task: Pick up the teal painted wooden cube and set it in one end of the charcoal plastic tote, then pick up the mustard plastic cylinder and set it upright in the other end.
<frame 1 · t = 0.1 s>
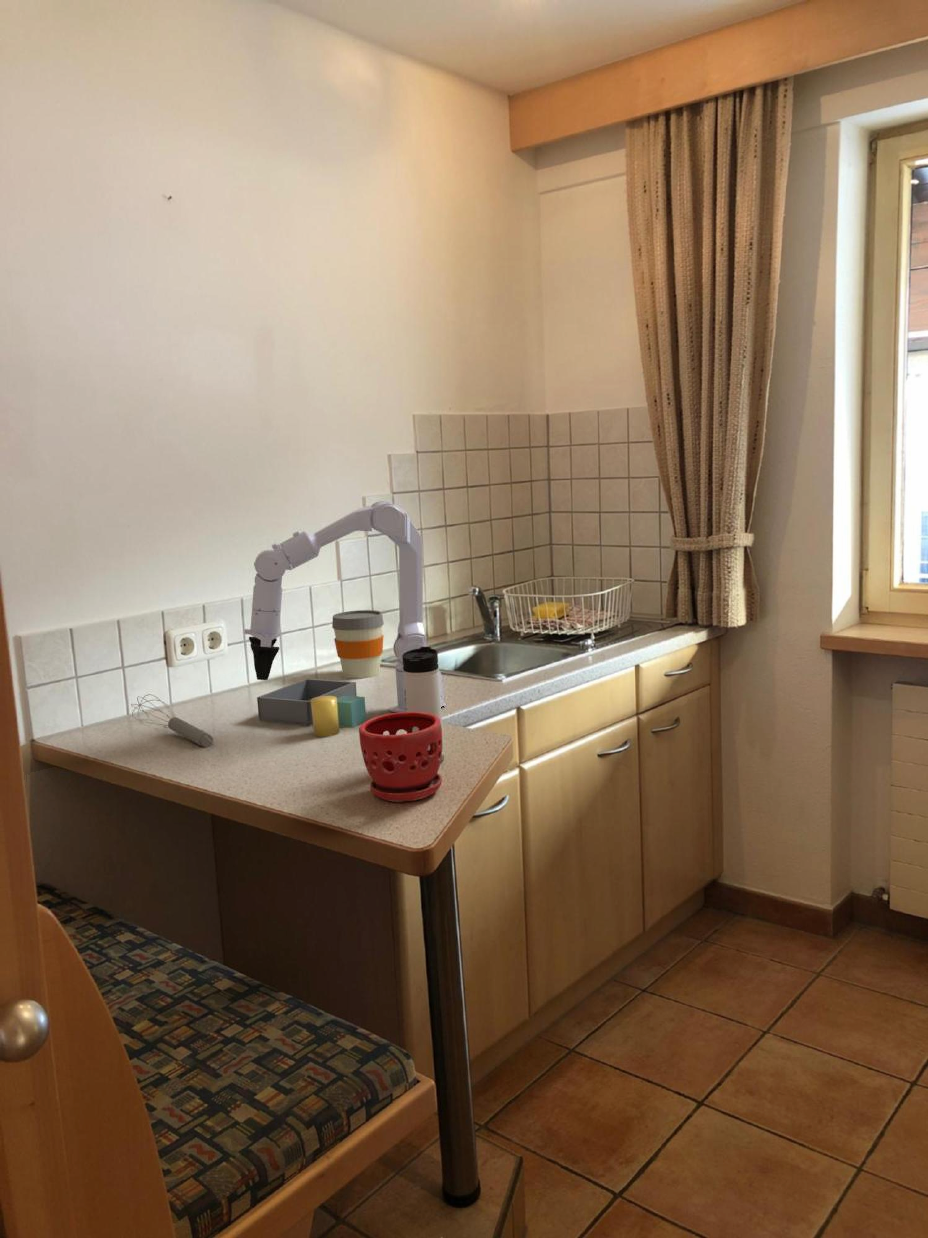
hand: (261, 675, 207), 11 cm above the worktop, tool pointing down, fingers open, 7 cm apart
travel mug: (427, 761, 181), on the worktop
tote: (309, 712, 218), on the worktop
cylinder: (326, 733, 201), on the worktop
kitchen whisk: (176, 734, 208), on the worktop
cube: (349, 722, 208), on the worktop
reusable coffee cup: (361, 675, 252), on the worktop
plant pot: (404, 794, 164), on the worktop
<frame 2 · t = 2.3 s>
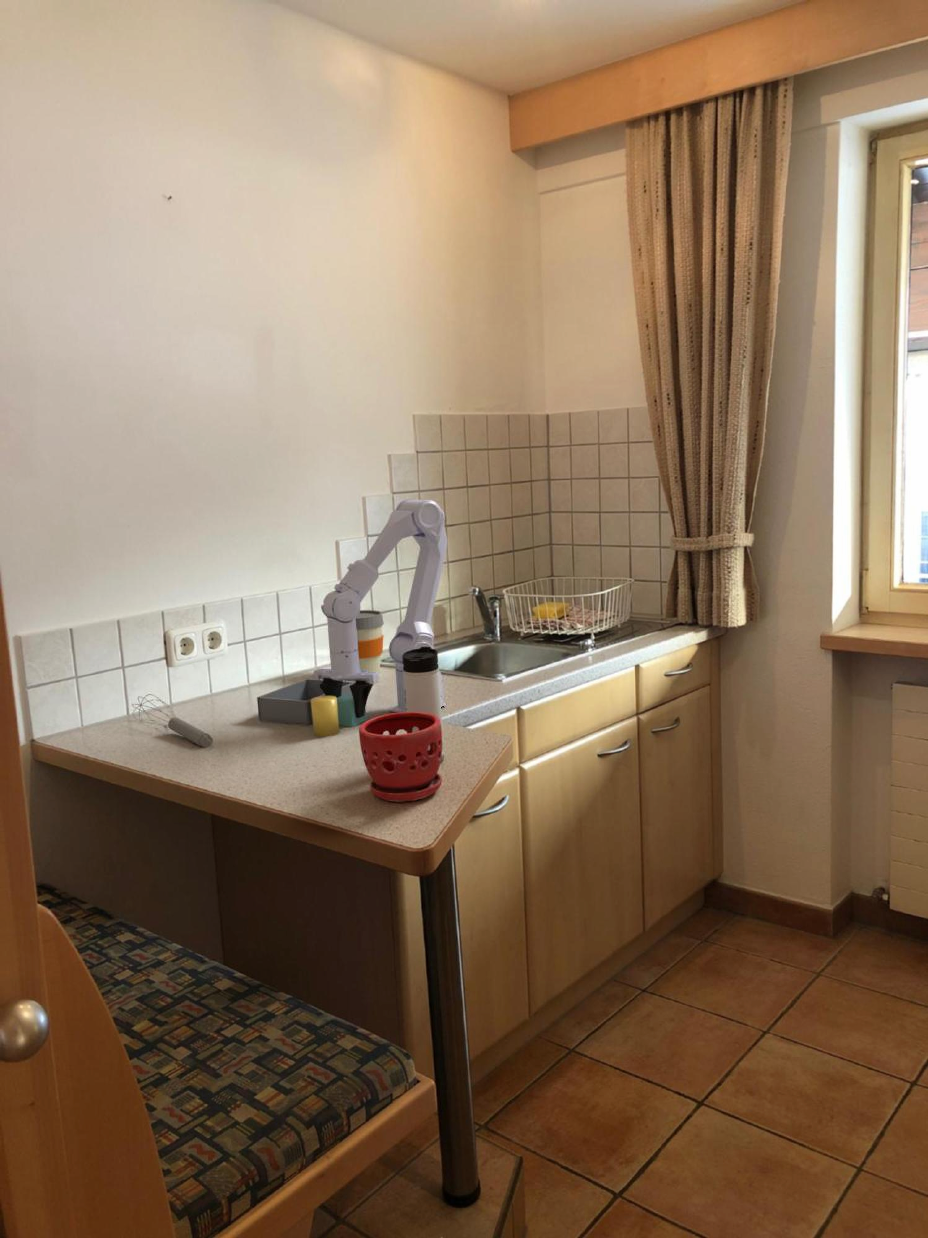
hand: (348, 715, 208), 1 cm above the worktop, tool pointing down, fingers closed on cube, 5 cm apart
cube: (349, 722, 208), on the worktop, touching gripper
everything else where it was.
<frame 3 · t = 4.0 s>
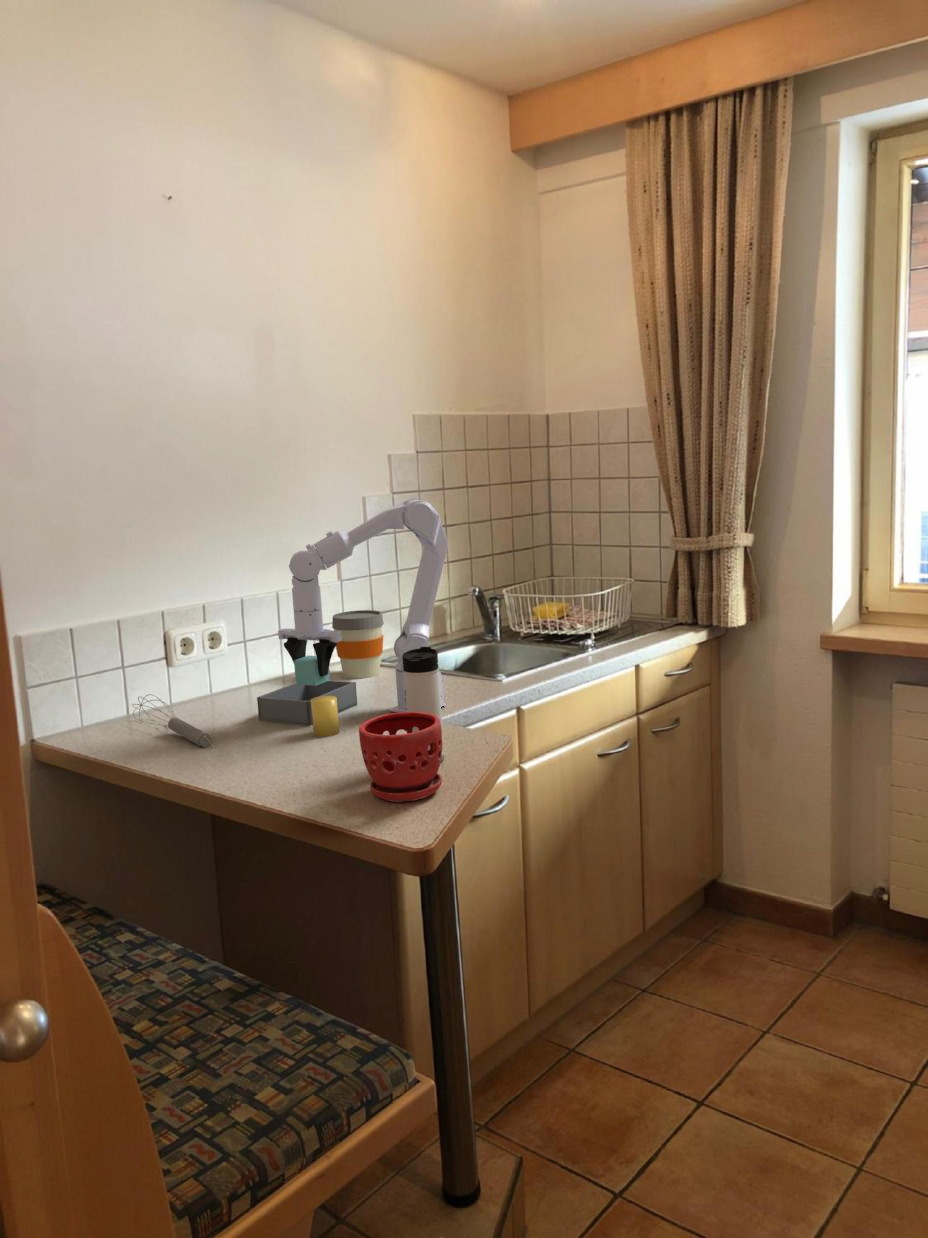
hand: (312, 674, 210), 10 cm above the worktop, tool pointing down, fingers closed on cube, 5 cm apart
cube: (313, 682, 210), point 8 cm above the worktop, touching gripper
everything else where it was.
when the fingers open (4 cm above the worktop, at t = 6.0 s): cube drops 1 cm, resting on tote.
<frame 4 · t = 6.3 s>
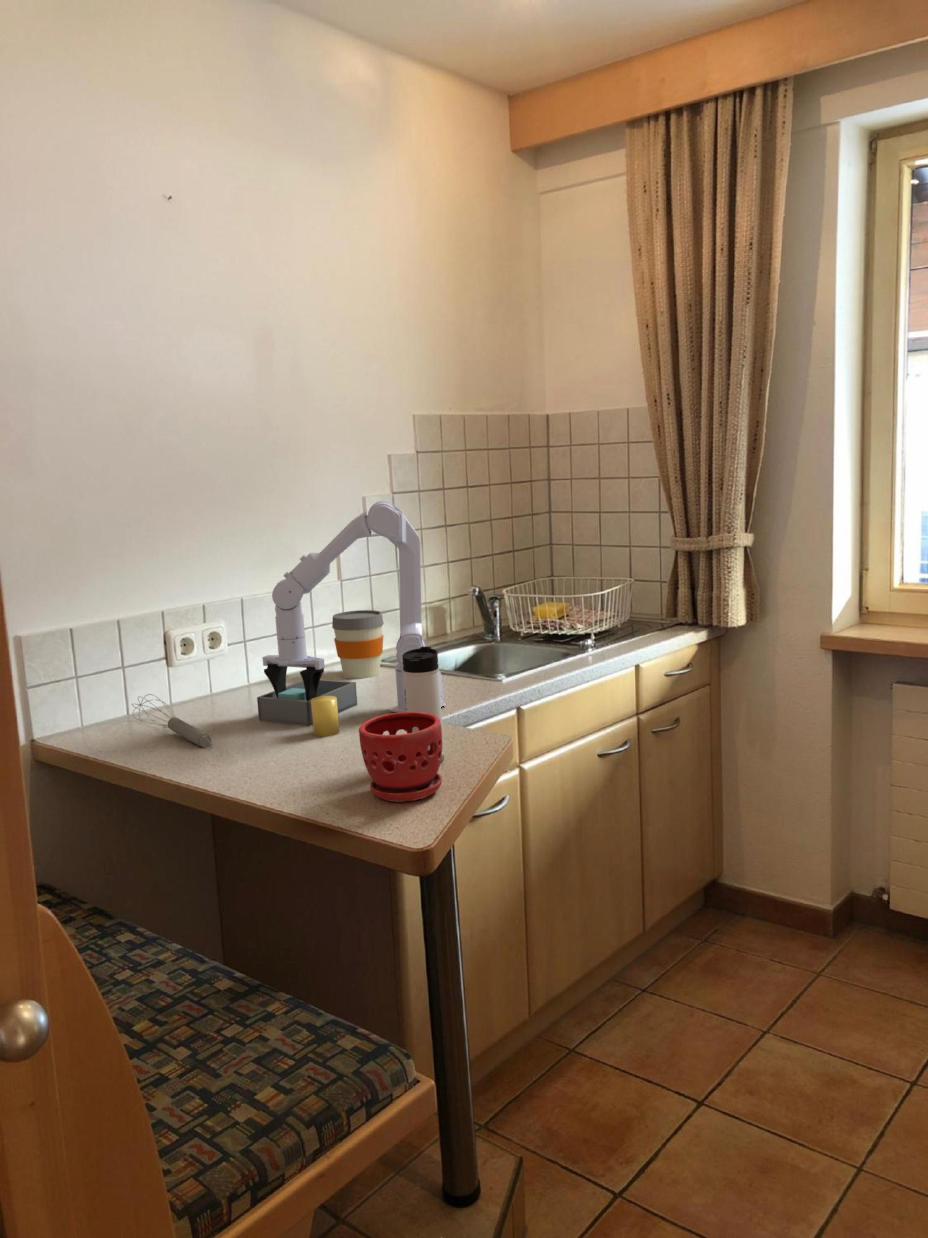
hand: (296, 700, 214), 4 cm above the worktop, tool pointing down, fingers open, 7 cm apart
cube: (296, 714, 214), point 1 cm above the worktop, touching tote
everything else where it was.
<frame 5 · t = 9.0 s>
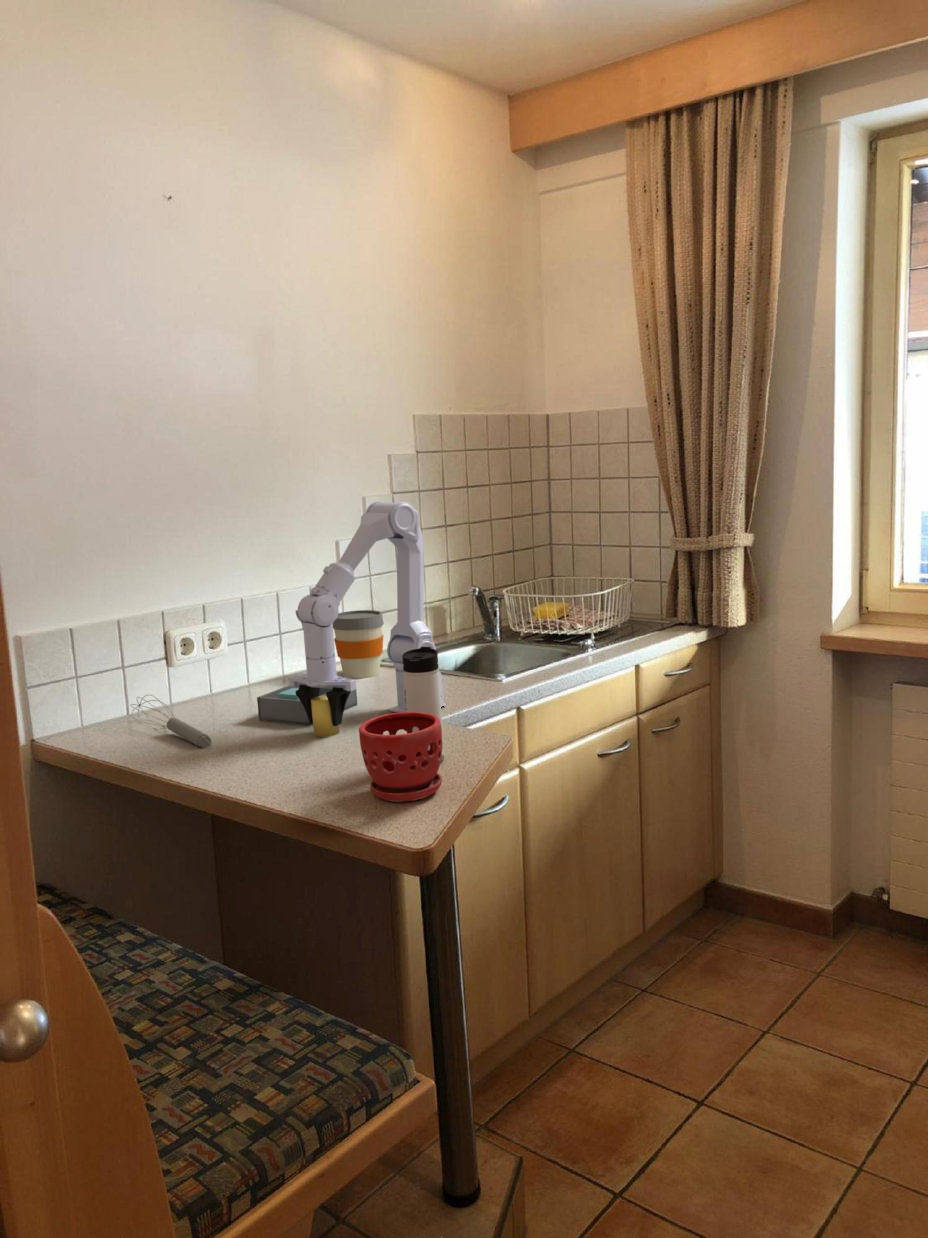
hand: (325, 723, 201), 2 cm above the worktop, tool pointing down, fingers closed on cylinder, 5 cm apart
cylinder: (326, 733, 201), on the worktop, touching gripper
everything else where it was.
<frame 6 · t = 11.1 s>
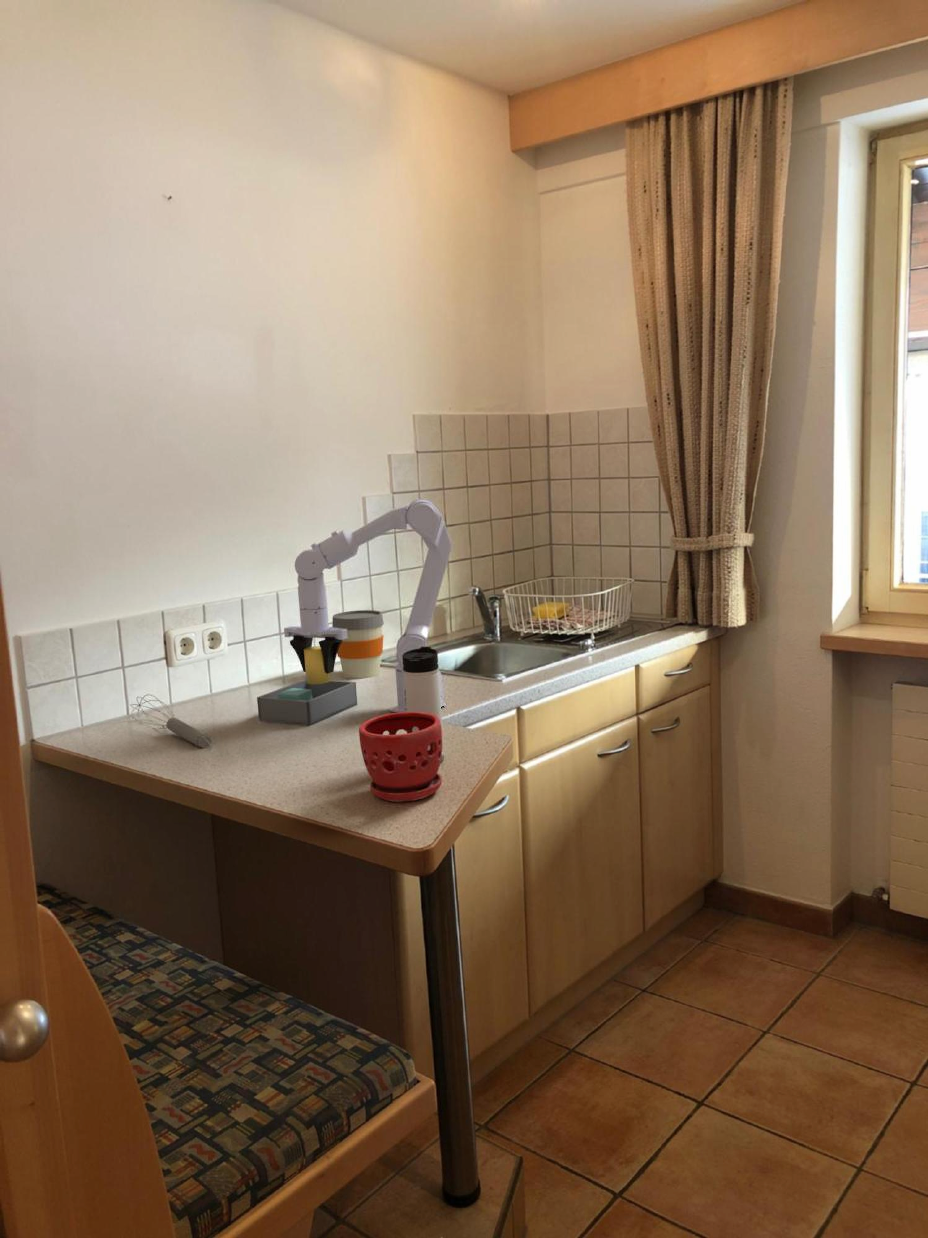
hand: (318, 671, 213), 9 cm above the worktop, tool pointing down, fingers closed on cylinder, 5 cm apart
cylinder: (318, 681, 213), point 7 cm above the worktop, touching gripper
everything else where it was.
when the fingers open (4 cm above the worktop, at t = 13.1 s): cylinder drops 1 cm, resting on tote.
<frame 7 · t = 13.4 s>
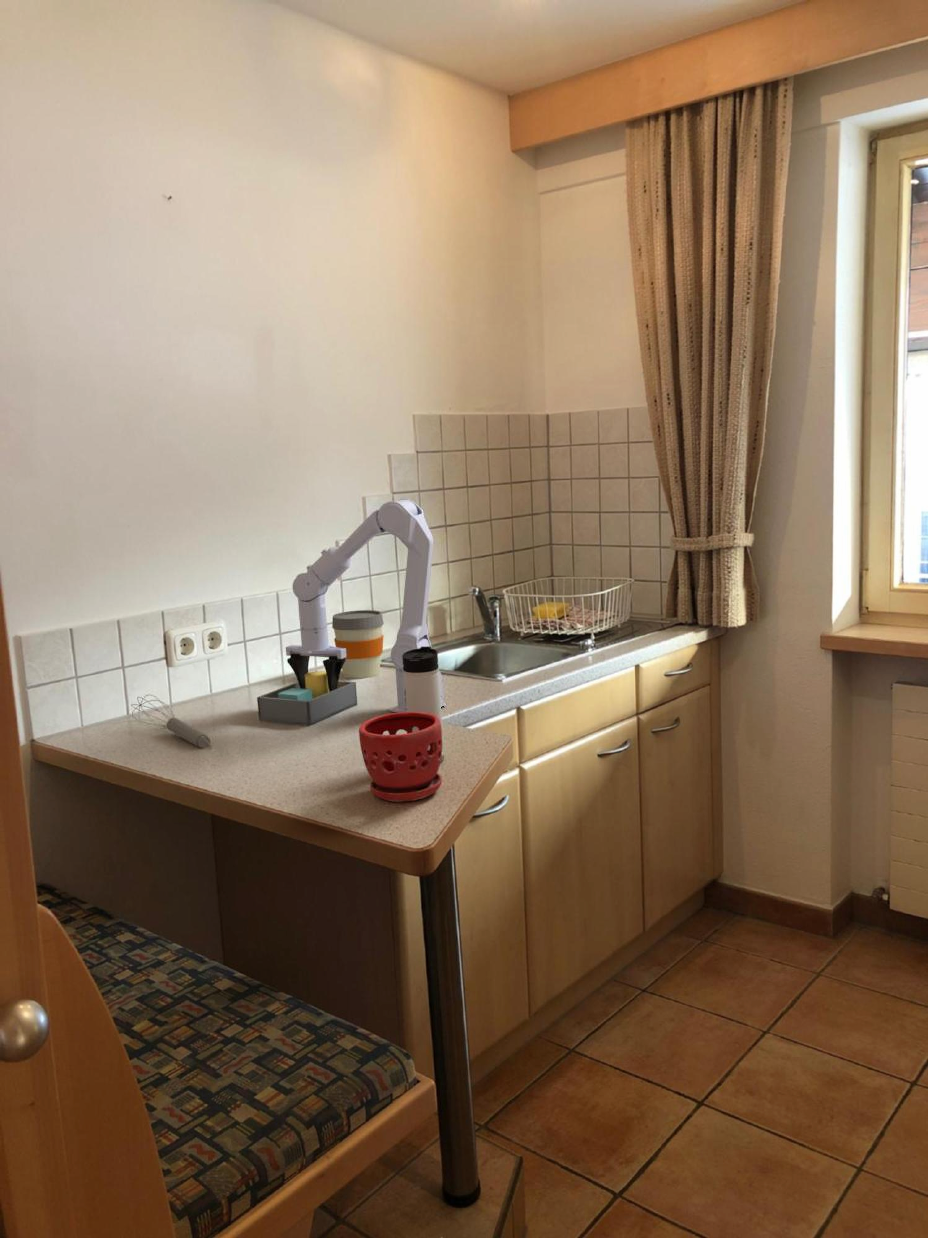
hand: (318, 689, 221), 4 cm above the worktop, tool pointing down, fingers open, 7 cm apart
cylinder: (319, 705, 221), point 1 cm above the worktop, touching tote
everything else where it was.
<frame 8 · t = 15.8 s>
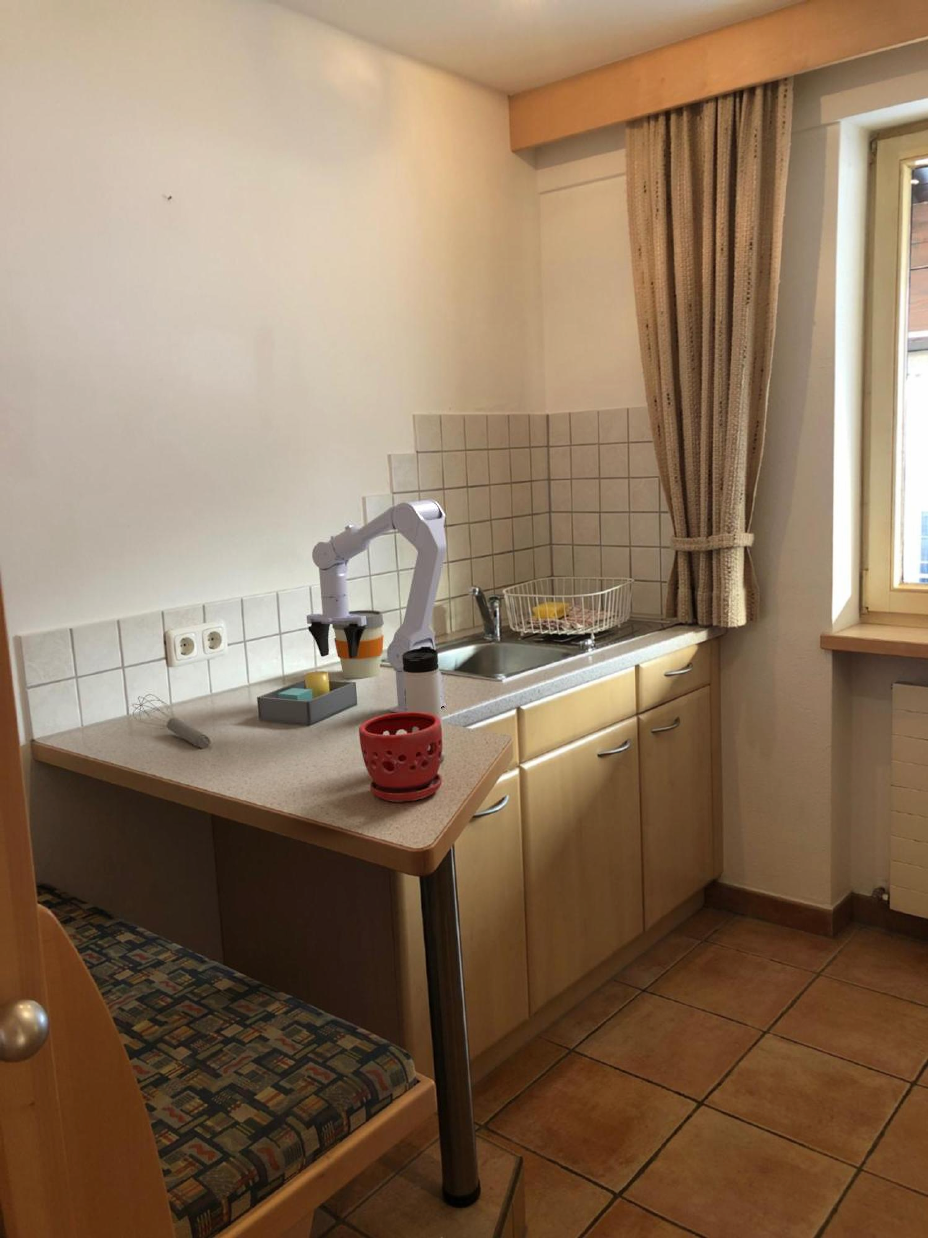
hand: (338, 656, 225), 10 cm above the worktop, tool pointing down, fingers open, 7 cm apart
nothing on the worktop moved.
at the end: cube inside the target area on the tote (4.2 cm from its centre), point 0.6 cm above the tote's base; cylinder inside the target area on the tote (3.7 cm from its centre), point 0.6 cm above the tote's base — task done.
